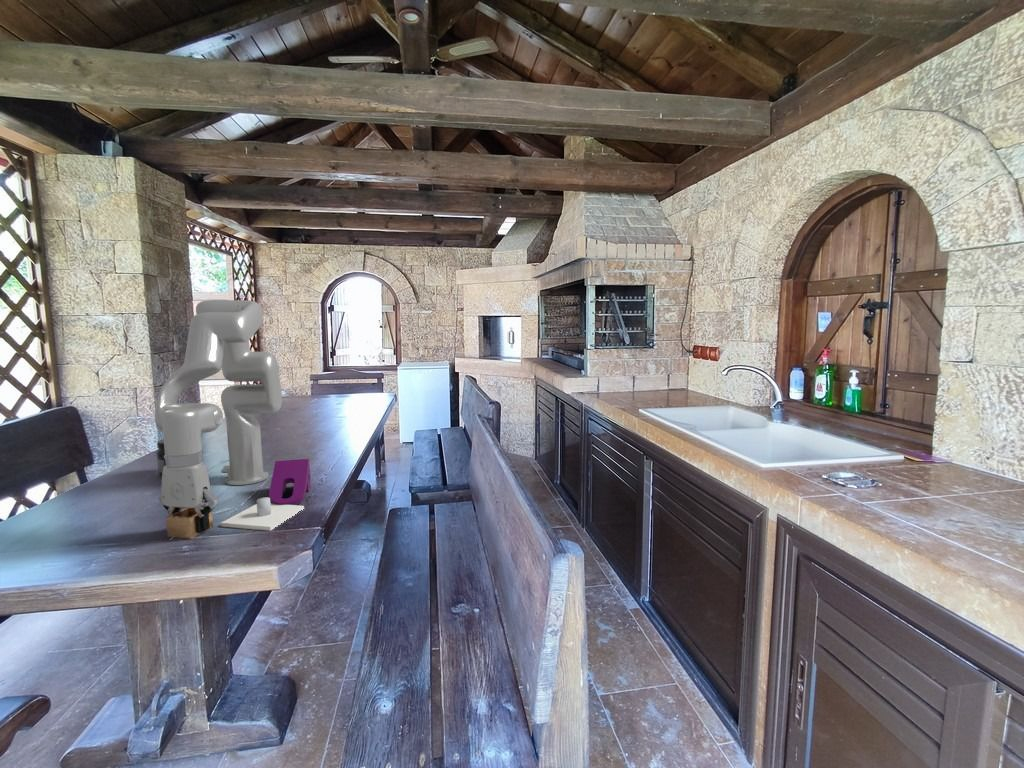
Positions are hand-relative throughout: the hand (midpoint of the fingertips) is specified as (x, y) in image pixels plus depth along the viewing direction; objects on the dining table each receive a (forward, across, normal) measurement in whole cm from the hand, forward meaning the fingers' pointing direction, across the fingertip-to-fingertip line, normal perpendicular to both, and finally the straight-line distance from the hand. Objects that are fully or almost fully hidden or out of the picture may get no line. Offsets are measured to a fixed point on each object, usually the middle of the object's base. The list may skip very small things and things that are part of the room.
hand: (190, 529), depth 118 cm
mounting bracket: (+1, +9, +26) cm, 28 cm away
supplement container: (+1, -43, +39) cm, 58 cm away
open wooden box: (+1, 0, 0) cm, 1 cm away
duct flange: (+1, +12, +11) cm, 16 cm away
